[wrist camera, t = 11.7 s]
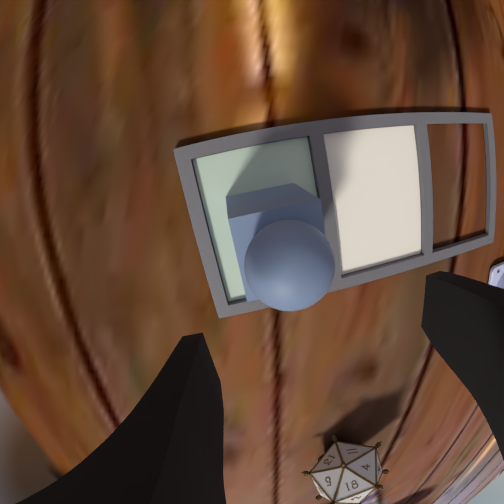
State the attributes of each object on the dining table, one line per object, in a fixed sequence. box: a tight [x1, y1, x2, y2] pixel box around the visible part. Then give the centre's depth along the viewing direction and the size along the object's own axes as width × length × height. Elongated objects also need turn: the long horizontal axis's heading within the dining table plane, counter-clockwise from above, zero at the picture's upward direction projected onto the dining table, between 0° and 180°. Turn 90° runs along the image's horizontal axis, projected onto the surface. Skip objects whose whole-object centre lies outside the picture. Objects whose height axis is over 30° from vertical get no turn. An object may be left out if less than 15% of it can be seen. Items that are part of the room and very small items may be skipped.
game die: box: [301, 434, 389, 504], centre depth 24 cm, size 9×8×10 cm
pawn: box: [226, 183, 335, 311], centre depth 14 cm, size 4×4×8 cm
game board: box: [173, 112, 496, 318], centre depth 18 cm, size 23×11×1 cm, turn 101°
